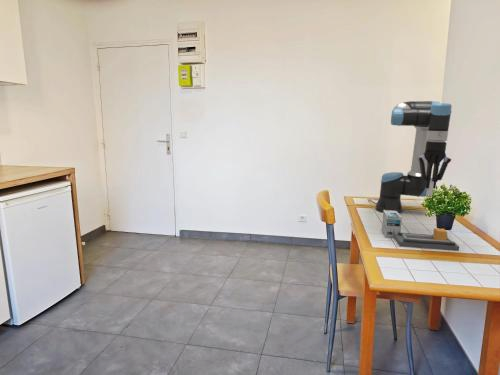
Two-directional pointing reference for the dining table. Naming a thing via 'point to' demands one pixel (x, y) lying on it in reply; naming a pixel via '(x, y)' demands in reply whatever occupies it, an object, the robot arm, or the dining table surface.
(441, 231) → the slider block
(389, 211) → the light bulb box
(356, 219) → the dining table surface
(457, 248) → the panel
